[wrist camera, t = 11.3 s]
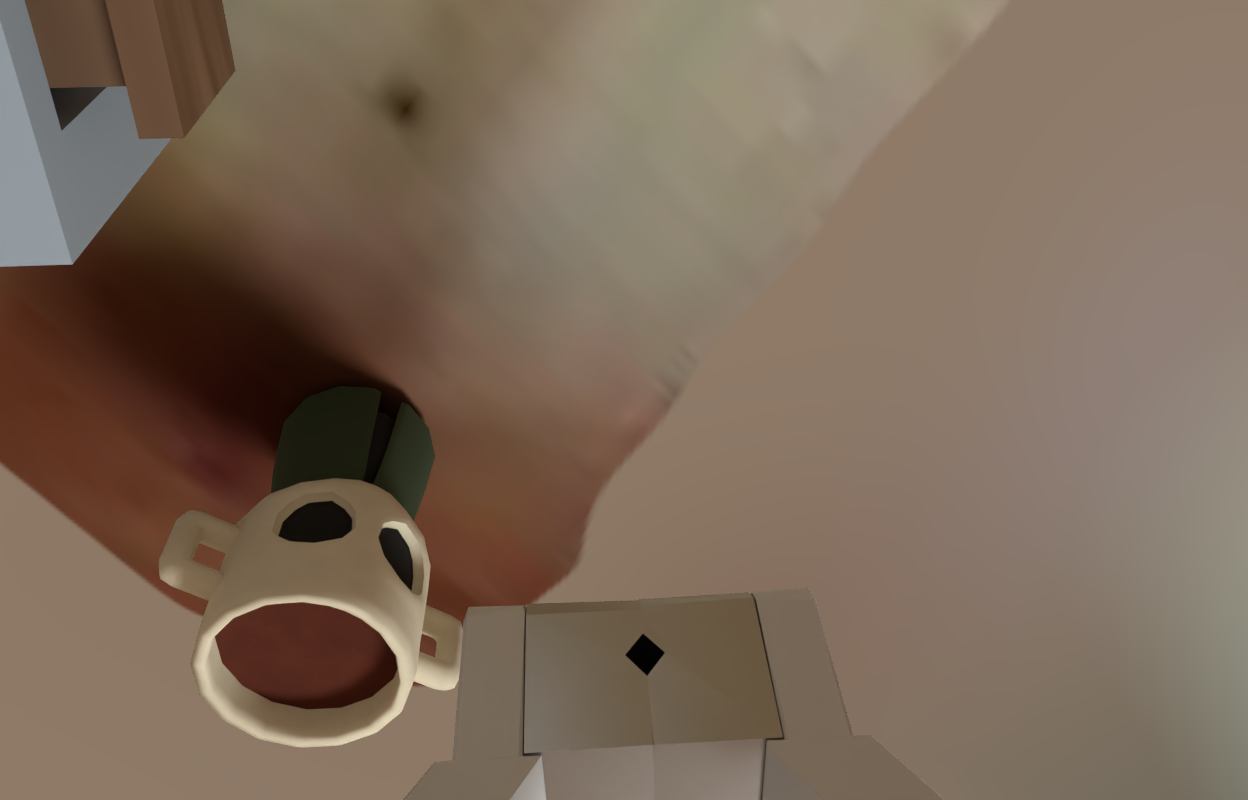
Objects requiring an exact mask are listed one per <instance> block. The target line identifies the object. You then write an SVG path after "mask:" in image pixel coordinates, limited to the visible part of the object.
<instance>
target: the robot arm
mask: <svg viewBox="0 0 1248 800" xmlns="http://www.w3.org/2000/svg"><path fill="white" fill-rule="evenodd" d="M404 800H944V799H943V798H942V797H941V796H940V795H939V794H938V793H937V792H935V791H934V790H933V789H932V788H931V787H930V786H929V785H927V784H926V783H925V782H924V781H923V780H922V779H921V778H920V777H918V776H917V775H916V774H915V773H914V772H912V770H910V769H909V768H908V767H907V766H906V765H905V764H903V763H902V762H901V761H900V760H899V759H898V758H897V757H896V756H894V755H893V754H892V753H891V752H890V751H889V750H888V749H886V748H885V747H884V746H883V745H882V744H881V743H879V742H878V741H877V740H876V739H875V738H874V737H873V736H872V735H861V736H860V735H859V736H858V735H857V736H853V733H852V729H851V725H850V722H849V718H848V714H847V711H846V707H845V704H844V701H843V697H842V693H841V690H840V686H839V682H838V679H837V675H836V672H835V668H834V665H833V661H832V657H831V654H830V650H829V647H828V644H827V640H826V636H825V632H824V629H823V626H822V622H821V619H820V615H819V611H818V608H817V604H816V601H815V597H814V595H813V594H812V593H811V592H810V590H809V589H808V588H800V589H785V590H771V591H757V592H752V593H751V594H749V593H748V592H745V593H731V594H715V595H701V596H687V597H671V598H655V599H641V600H636V601H604V602H574V603H545V604H527V607H526V606H490V607H468V610H467V613H466V616H465V619H464V624H463V637H462V649H461V661H460V673H459V686H458V698H457V710H456V723H455V735H454V748H453V760H451V761H440V762H434V763H433V765H432V766H431V767H430V768H429V769H428V771H427V772H426V773H425V774H424V775H423V777H422V778H421V779H420V780H419V781H418V783H417V784H416V785H415V786H414V787H413V789H412V790H411V791H410V792H409V793H408V795H407V796H406V797H405V798H404Z"/></svg>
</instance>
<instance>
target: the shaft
mask: <svg viewBox="0 0 1248 800" xmlns="http://www.w3.org/2000/svg"><path fill="white" fill-rule="evenodd" d="M25 3H26V7H27V10H28V14H29V18H30V21H31V25H32V28H33V32H34V35H35V39H36V42H37V46H38V49H39V53H40V56H41V60H42V64H43V67H44V71H45V74H46V78H47V81H48V85H49V88H75V87H121V86H126V88H127V92H128V96H129V100H130V104H131V108H132V112H133V116H134V120H135V124H136V129H137V133H138V137H139V139H163V138H184V137H185V136H186V135H187V134H188V132H189V131H190V130H191V128H192V127H193V126H194V124H195V123H196V122H197V120H198V119H199V118H200V116H201V115H202V114H203V112H204V111H205V110H206V108H207V107H208V106H209V105H210V103H211V102H212V101H213V99H214V98H215V97H216V95H217V94H218V93H219V91H220V90H221V89H222V87H223V86H224V85H225V83H226V82H227V81H228V79H229V78H230V77H231V76H232V74H233V73H234V72H235V66H234V61H233V56H232V51H231V45H230V40H229V35H228V30H227V25H226V19H225V14H224V9H223V4H222V0H25Z"/></svg>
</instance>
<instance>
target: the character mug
mask: <svg viewBox="0 0 1248 800" xmlns="http://www.w3.org/2000/svg"><path fill="white" fill-rule="evenodd" d="M380 397H381V392H380V391H378V390H377V389H375V388H366V387H349V386H338V387H335V388H332V389H329V390H326V391H323V392H320V393H317V394H314V395H311V396H308V397H307V398H306V399H305V400H304V401H303V402H302V403H301V404H300V405H299V406H298V407H297V408H296V409H295V410H294V411H293V413H292V414H291V415H290V416H289V417H288V418H287V419H286V420H285V421H284V424H283V428H282V432H281V436H280V440H279V444H278V448H277V453H276V459H275V465H274V471H273V478H272V489H271V494H269V495H268V496H267V497H265V498H264V499H263V500H261V501H260V502H259V503H258V504H257V505H256V506H255V507H254V508H253V509H252V510H251V511H250V512H249V513H248V514H247V515H246V516H244V517H243V518H242V519H241V520H240V521H239V522H238V523H237V524H236V526H235V525H233V524H230V523H228V522H226V521H223V520H221V519H218V518H216V517H214V516H211V515H209V514H206V513H204V512H199V511H193V510H190V511H188V512H186V513H184V514H183V515H182V516H181V517H179V518H178V519H177V520H176V522H175V524H174V527H173V529H172V531H171V534H170V536H169V538H168V541H167V543H166V545H165V548H164V550H163V552H162V555H161V557H160V559H159V574H160V579H162V580H163V581H165V582H166V583H167V584H169V585H170V586H172V587H175V588H177V589H180V590H182V591H185V592H188V593H190V594H193V595H195V596H198V597H200V598H203V599H205V600H208V601H209V602H208V605H207V608H206V611H205V613H204V616H203V619H202V621H201V625H200V629H199V632H198V636H197V640H196V644H195V647H194V650H193V655H192V659H191V668H192V670H193V674H194V677H195V681H196V684H197V687H198V690H199V694H200V695H201V696H202V697H203V698H204V700H205V701H206V702H207V703H208V704H209V705H210V706H211V707H212V708H213V709H214V710H215V712H216V713H217V714H218V715H219V716H220V717H221V718H222V719H223V720H224V721H226V722H227V723H229V724H231V725H233V726H235V727H237V728H239V729H241V730H243V731H244V732H246V733H248V734H250V735H252V736H254V737H256V738H258V739H261V740H266V741H271V742H275V743H280V744H285V745H290V746H295V747H315V746H334V745H342V744H345V743H348V742H351V741H354V740H357V739H359V738H362V737H365V736H368V735H371V734H374V733H376V732H378V731H379V730H380V729H381V728H382V727H384V726H385V725H386V724H387V723H389V722H390V721H391V720H392V719H393V718H394V717H396V716H397V715H398V714H399V713H401V711H402V710H403V707H404V705H405V702H406V700H407V697H408V694H409V692H410V689H411V687H412V684H413V681H415V682H418V683H420V684H423V685H425V686H428V687H431V688H433V689H436V690H449V689H453V688H454V687H455V685H456V684H457V681H458V680H459V673H460V661H461V649H462V637H463V629H462V625H461V622H460V621H458V620H457V619H455V618H454V617H453V616H451V615H448V614H446V613H444V612H441V611H439V610H436V609H434V608H432V607H429V606H427V605H426V600H427V593H428V584H429V575H430V562H429V558H428V554H427V550H426V545H425V538H424V536H423V535H422V533H421V532H420V530H419V529H418V527H417V526H416V524H415V523H414V519H415V517H416V514H417V512H418V509H419V506H420V503H421V500H422V497H423V494H424V491H425V488H426V486H427V482H428V479H429V475H430V472H431V468H432V465H433V461H434V458H435V455H434V450H433V446H432V441H431V437H430V432H429V428H428V427H427V426H426V425H425V423H424V422H423V421H422V420H421V418H420V417H419V416H418V415H417V414H416V412H415V411H414V410H413V409H412V408H411V406H410V405H408V404H406V403H403V402H401V405H400V409H399V412H398V415H397V419H396V422H395V421H394V420H392V419H391V418H390V417H389V416H388V415H386V414H383V413H378V407H379V402H380ZM199 543H201V544H204V545H206V546H209V547H211V548H214V549H216V550H219V551H221V552H223V553H226V555H225V557H224V560H223V563H222V566H221V568H220V571H217V570H215V569H212V568H210V567H207V566H205V565H202V564H200V563H197V562H195V561H193V558H194V555H195V553H196V550H197V548H198V545H199ZM421 634H425V635H427V636H430V637H432V638H434V639H435V640H436V642H437V648H436V656H435V658H434V657H432V656H429V655H427V654H424V653H422V652H419V648H420V640H421Z"/></svg>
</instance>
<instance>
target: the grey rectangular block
mask: <svg viewBox="0 0 1248 800" xmlns="http://www.w3.org/2000/svg"><path fill="white" fill-rule="evenodd" d="M170 140H171V138H163V139H139V137H138V133H137V129H136V124H135V120H134V116H133V112H132V108H131V104H130V100H129V96H128V92H127V88H126V86H121V87H75V88H49V85H48V81H47V78H46V74H45V71H44V67H43V64H42V60H41V56H40V53H39V49H38V46H37V42H36V39H35V35H34V32H33V28H32V25H31V21H30V18H29V14H28V10H27V7H26V3H25V0H0V267H1V266H37V265H73V263H74V262H75V261H76V260H77V258H78V257H79V256H80V254H81V253H82V252H83V251H84V249H85V248H86V247H87V245H88V244H89V243H90V242H91V240H92V239H93V238H94V237H95V235H96V234H97V233H98V231H99V230H100V229H101V228H102V226H103V225H104V224H105V223H106V221H107V220H108V219H109V217H110V216H111V215H112V214H113V212H114V211H115V210H116V209H117V207H118V206H119V205H120V203H121V202H122V201H123V200H124V198H125V197H126V196H127V194H128V193H129V192H130V191H131V189H132V188H133V187H134V186H135V184H136V183H137V182H138V180H139V179H140V178H141V177H142V175H143V174H144V173H145V172H146V170H147V169H148V168H149V166H150V165H151V164H152V163H153V161H154V160H155V159H156V158H157V156H158V155H159V154H160V152H161V151H162V150H163V149H164V147H165V146H166V145H167V143H168V142H169V141H170Z"/></svg>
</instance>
